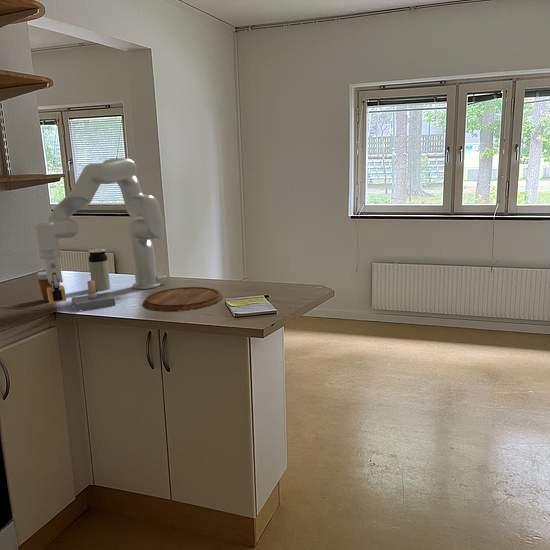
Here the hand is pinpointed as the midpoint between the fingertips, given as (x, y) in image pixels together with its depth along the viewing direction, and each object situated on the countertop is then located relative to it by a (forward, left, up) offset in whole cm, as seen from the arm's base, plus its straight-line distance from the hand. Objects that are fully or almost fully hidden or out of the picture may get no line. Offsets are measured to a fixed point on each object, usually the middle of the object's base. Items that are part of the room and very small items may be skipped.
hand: (57, 298), depth 212 cm
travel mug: (-21, -29, -5) cm, 36 cm away
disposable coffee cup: (+1, -21, -5) cm, 21 cm away
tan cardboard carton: (0, 0, -1) cm, 1 cm away
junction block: (-13, 0, -5) cm, 14 cm away
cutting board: (-46, +15, -6) cm, 49 cm away
